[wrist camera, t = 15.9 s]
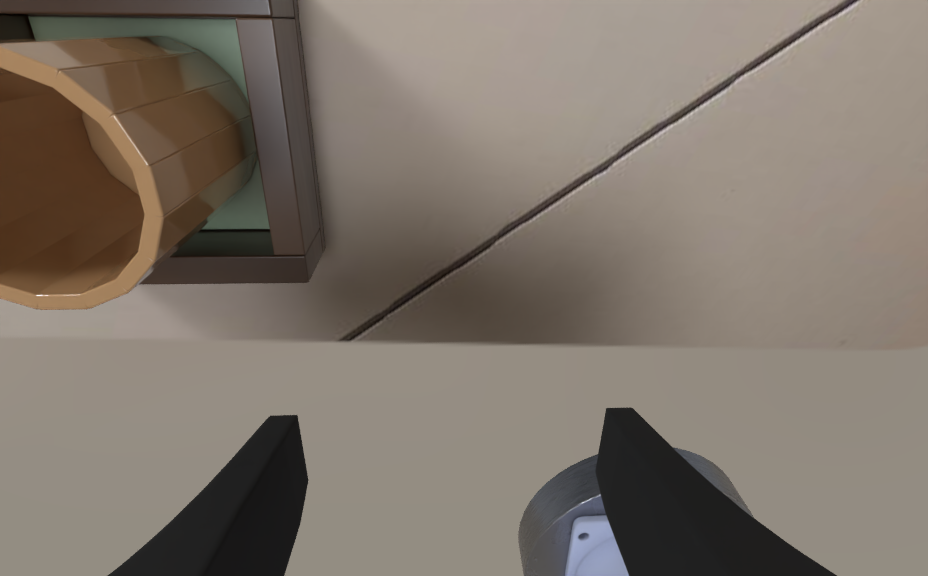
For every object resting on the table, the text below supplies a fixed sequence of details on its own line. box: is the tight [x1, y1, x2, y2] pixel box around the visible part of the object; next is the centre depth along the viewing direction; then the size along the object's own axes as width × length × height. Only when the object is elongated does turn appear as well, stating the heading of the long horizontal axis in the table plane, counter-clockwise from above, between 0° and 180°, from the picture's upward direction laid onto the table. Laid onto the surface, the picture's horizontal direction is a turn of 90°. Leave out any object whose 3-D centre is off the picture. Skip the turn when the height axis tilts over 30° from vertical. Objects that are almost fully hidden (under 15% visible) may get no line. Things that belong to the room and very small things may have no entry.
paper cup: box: [0, 35, 258, 310], centre depth 14 cm, size 6×6×7 cm
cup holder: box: [0, 0, 325, 284], centre depth 16 cm, size 9×9×3 cm
